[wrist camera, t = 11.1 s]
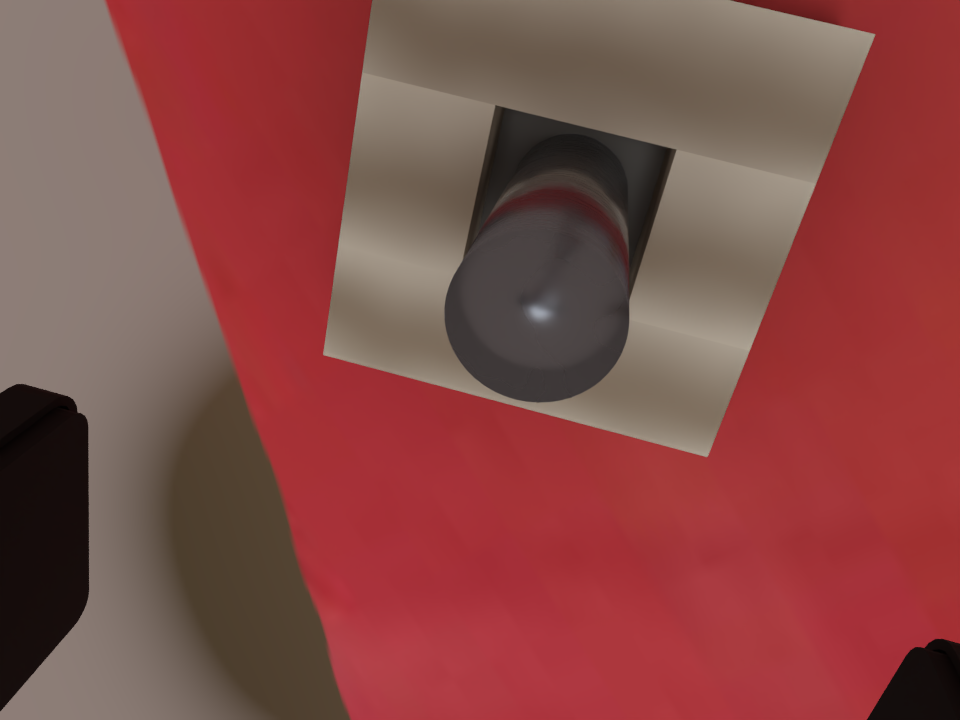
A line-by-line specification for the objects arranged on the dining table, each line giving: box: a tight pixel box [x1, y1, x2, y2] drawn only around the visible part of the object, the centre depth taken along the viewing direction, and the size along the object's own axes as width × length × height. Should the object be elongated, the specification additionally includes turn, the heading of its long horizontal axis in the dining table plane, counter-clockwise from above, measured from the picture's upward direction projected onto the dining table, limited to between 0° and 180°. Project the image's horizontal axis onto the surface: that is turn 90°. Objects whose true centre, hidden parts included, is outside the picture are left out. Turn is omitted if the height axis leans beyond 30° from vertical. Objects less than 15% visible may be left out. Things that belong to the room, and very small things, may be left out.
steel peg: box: [444, 134, 629, 403], centre depth 23 cm, size 4×4×12 cm
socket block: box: [323, 0, 875, 457], centre depth 27 cm, size 14×14×4 cm
